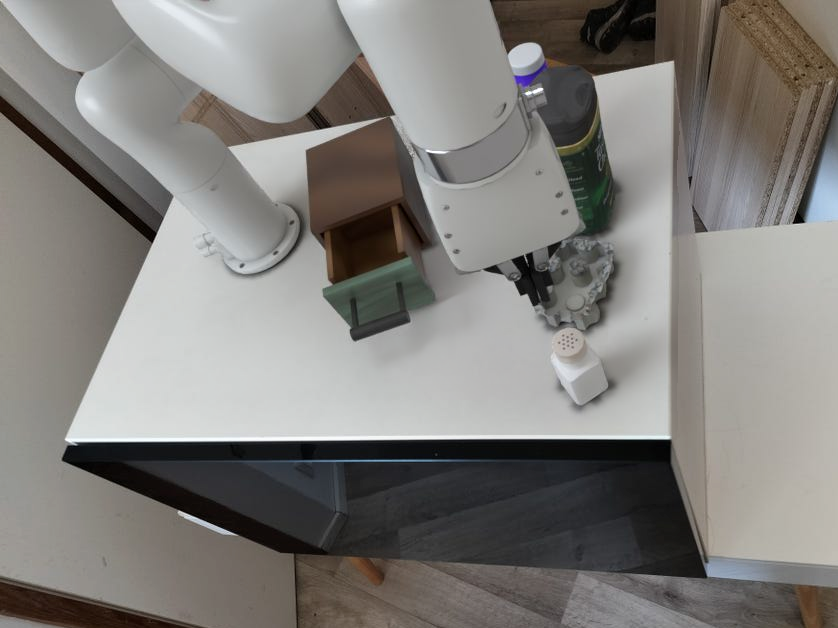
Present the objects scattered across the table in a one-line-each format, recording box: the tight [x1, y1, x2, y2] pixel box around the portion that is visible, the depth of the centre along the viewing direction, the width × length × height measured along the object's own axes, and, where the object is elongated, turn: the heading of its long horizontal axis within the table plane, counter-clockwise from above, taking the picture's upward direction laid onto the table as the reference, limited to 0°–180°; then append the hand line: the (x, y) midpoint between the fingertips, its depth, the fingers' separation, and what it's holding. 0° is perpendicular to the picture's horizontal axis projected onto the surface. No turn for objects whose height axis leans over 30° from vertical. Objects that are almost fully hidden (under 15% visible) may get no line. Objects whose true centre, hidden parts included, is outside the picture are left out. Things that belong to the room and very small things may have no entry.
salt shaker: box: [550, 327, 609, 406], centre depth 69 cm, size 4×4×10 cm
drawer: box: [321, 203, 437, 342], centre depth 84 cm, size 20×11×8 cm, turn 11°
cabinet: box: [305, 115, 433, 251], centre depth 91 cm, size 16×13×10 cm
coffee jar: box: [529, 64, 616, 237], centre depth 77 cm, size 10×8×19 cm
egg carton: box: [533, 237, 615, 331], centre depth 77 cm, size 11×8×4 cm
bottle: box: [507, 42, 549, 87], centre depth 83 cm, size 7×6×17 cm
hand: (538, 290), depth 59 cm, fingers closed
